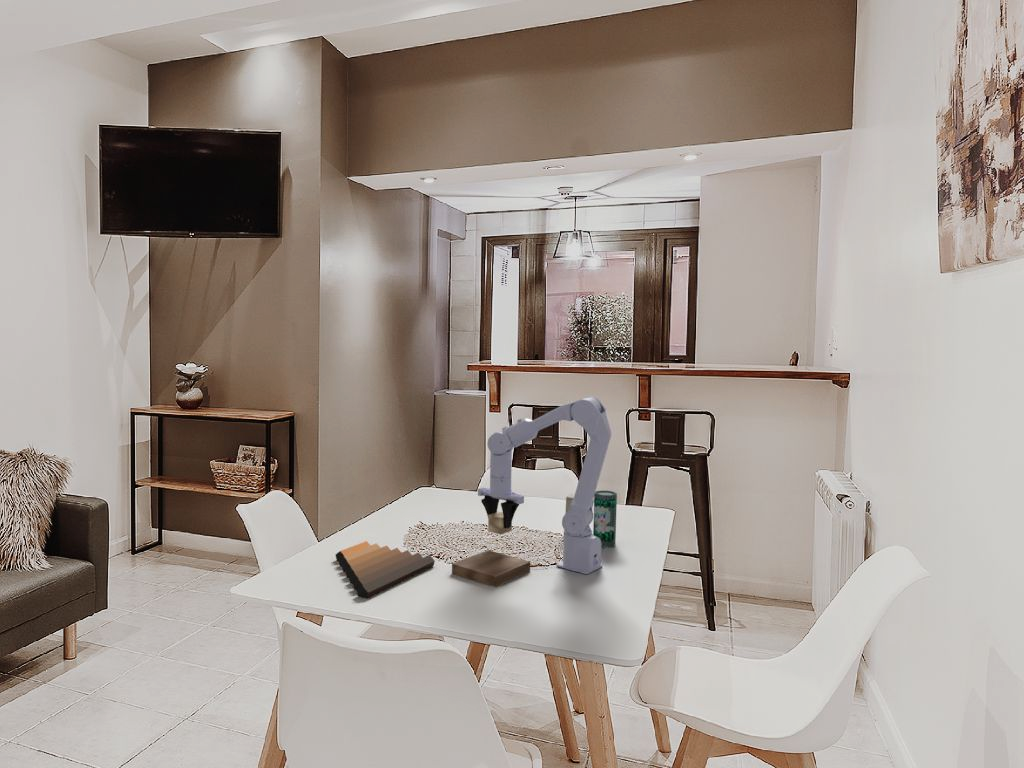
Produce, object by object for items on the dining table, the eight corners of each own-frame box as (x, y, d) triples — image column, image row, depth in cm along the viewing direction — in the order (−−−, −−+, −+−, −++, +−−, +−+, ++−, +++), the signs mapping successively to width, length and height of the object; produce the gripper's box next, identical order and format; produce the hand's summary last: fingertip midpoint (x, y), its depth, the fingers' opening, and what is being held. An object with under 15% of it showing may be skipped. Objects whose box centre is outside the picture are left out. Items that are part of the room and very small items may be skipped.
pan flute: (368, 601, 150) (434, 568, 171) (368, 587, 150) (434, 556, 171) (290, 580, 162) (361, 552, 184) (290, 566, 162) (361, 539, 184)
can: (590, 545, 191) (591, 493, 190) (597, 539, 197) (599, 489, 196) (610, 548, 188) (612, 496, 187) (617, 543, 194) (619, 492, 193)
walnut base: (530, 571, 169) (530, 561, 169) (495, 587, 158) (495, 576, 158) (487, 559, 178) (488, 550, 178) (451, 573, 167) (452, 563, 167)
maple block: (511, 530, 180) (511, 514, 180) (501, 534, 177) (501, 517, 177) (498, 527, 183) (499, 511, 183) (488, 531, 180) (488, 514, 179)
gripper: (531, 477, 178) (530, 527, 179) (489, 470, 187) (489, 517, 188) (514, 481, 172) (514, 533, 173) (472, 473, 181) (472, 523, 182)
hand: (500, 525), depth 180 cm, fingers closed on maple block, 4 cm apart
